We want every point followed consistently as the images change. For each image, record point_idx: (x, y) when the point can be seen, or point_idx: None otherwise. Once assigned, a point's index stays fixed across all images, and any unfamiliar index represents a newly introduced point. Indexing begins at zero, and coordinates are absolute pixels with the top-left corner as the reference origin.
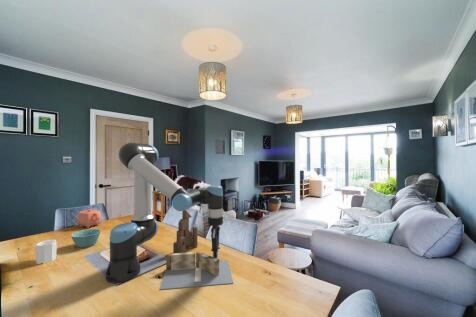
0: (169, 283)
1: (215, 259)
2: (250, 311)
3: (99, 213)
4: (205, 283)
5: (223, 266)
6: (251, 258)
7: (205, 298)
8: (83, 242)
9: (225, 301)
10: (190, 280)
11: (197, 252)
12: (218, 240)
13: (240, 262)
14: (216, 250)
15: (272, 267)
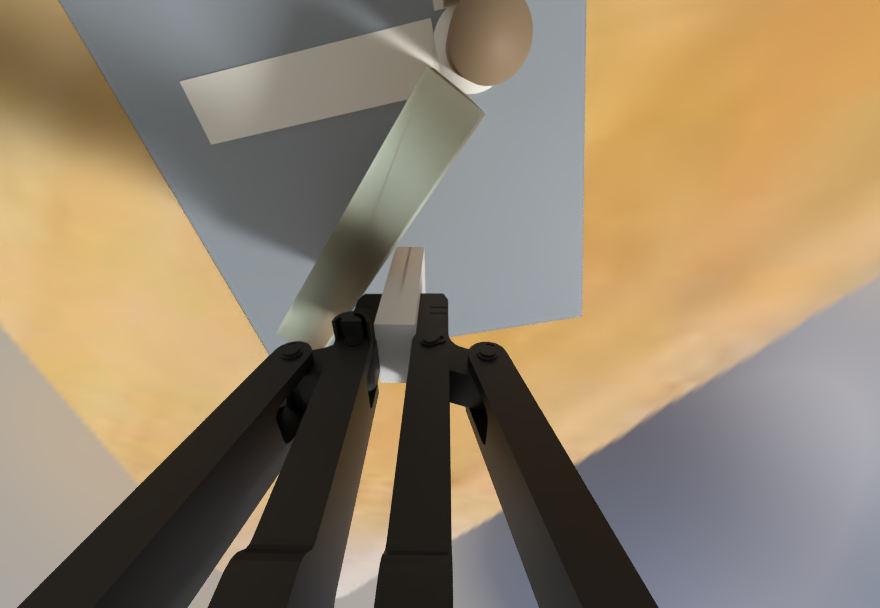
0: None
1: (309, 321)
2: (93, 426)
3: None
4: (199, 192)
5: (477, 294)
6: (588, 438)
7: (47, 223)
8: None
9: (94, 335)
10: (185, 24)
11: (508, 7)
12: (489, 469)
13: (541, 387)
14: (285, 403)
15: (471, 504)
